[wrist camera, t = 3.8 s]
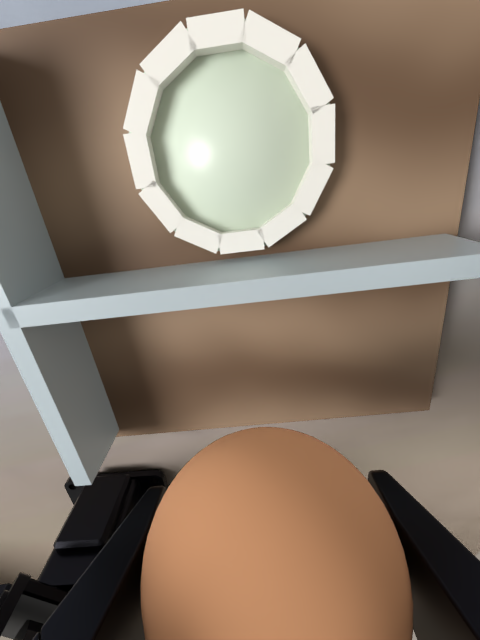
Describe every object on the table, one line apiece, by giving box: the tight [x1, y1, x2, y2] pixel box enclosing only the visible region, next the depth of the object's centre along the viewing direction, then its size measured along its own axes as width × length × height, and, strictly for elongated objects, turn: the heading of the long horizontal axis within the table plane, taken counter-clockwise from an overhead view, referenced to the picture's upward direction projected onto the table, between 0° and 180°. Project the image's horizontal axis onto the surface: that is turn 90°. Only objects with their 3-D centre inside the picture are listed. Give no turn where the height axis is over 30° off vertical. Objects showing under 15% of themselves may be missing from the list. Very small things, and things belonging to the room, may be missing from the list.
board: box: [0, 0, 480, 486], centre depth 12 cm, size 18×18×4 cm
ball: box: [140, 427, 413, 640], centre depth 7 cm, size 6×6×6 cm
